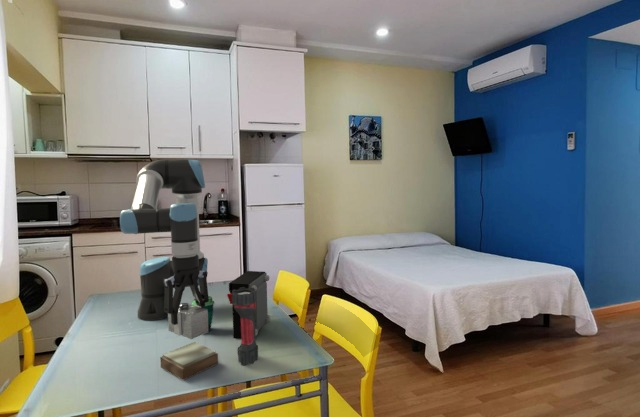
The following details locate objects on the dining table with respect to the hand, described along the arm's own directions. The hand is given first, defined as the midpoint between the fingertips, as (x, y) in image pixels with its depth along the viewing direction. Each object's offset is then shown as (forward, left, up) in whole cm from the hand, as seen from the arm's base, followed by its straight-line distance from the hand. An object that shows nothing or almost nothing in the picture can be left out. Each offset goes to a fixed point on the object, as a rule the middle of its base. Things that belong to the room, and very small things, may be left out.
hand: (188, 330), depth 115 cm
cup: (-20, +19, -11) cm, 30 cm away
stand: (0, 0, -11) cm, 11 cm away
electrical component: (-6, +30, -11) cm, 33 cm away
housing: (0, 0, 0) cm, 0 cm away
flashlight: (+12, +12, -11) cm, 21 cm away
